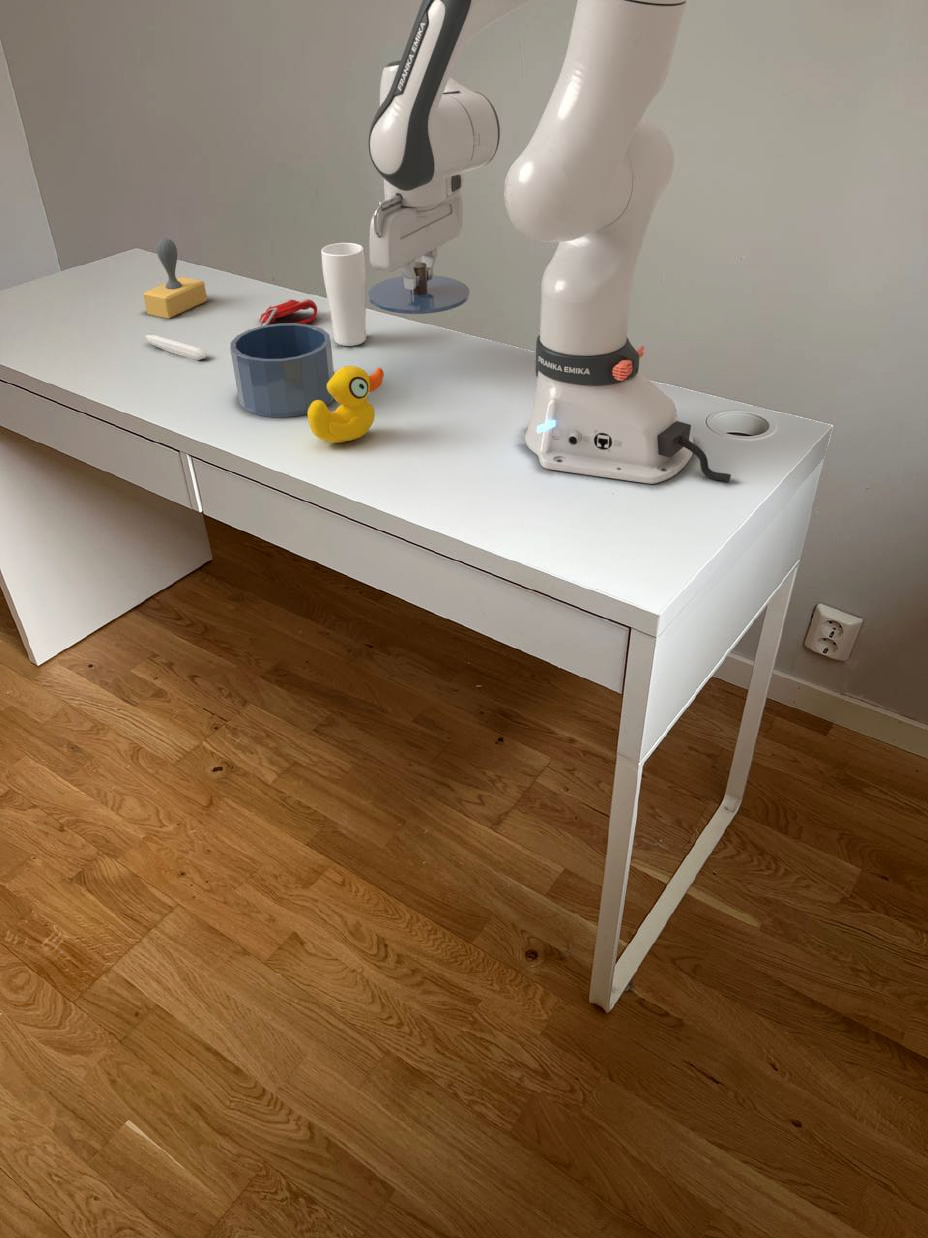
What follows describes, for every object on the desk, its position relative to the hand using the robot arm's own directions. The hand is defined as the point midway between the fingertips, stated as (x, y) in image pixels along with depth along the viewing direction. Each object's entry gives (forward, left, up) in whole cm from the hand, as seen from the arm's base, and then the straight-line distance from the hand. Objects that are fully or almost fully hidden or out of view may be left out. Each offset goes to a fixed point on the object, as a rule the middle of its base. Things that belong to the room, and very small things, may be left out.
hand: (419, 283), depth 151 cm
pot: (+12, +19, -13) cm, 26 cm away
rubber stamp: (+53, -2, -13) cm, 55 cm away
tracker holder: (+31, -4, -13) cm, 34 cm away
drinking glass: (+16, -3, -13) cm, 21 cm away
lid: (0, 0, -2) cm, 2 cm away
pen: (+39, +14, -13) cm, 43 cm away
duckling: (-4, +26, -13) cm, 29 cm away
